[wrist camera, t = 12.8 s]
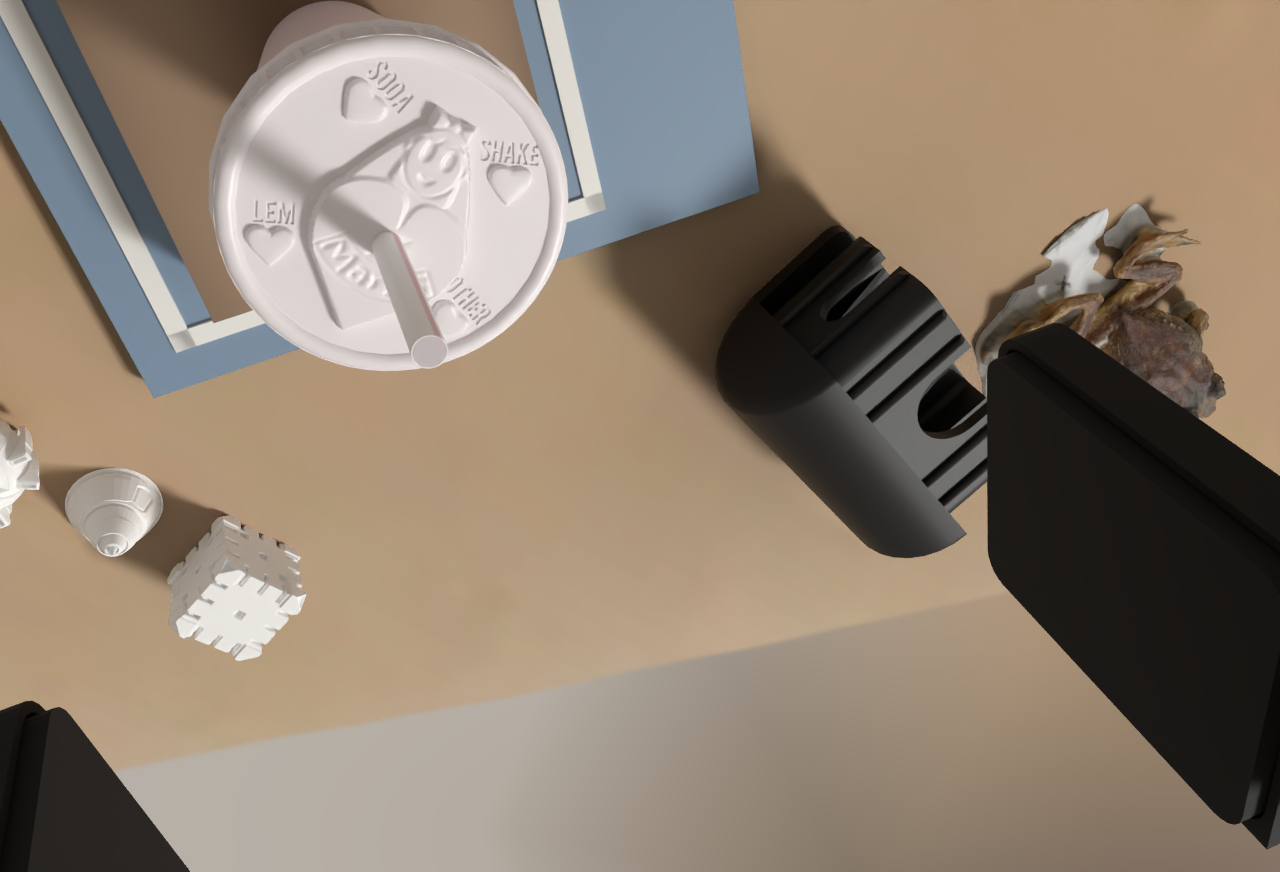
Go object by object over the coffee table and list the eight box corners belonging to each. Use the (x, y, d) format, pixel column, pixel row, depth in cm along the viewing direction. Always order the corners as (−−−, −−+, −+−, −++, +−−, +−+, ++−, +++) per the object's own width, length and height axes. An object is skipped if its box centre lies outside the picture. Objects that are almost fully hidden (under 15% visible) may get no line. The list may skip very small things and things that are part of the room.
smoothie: (154, 130, 27) (138, 421, 16) (271, -121, 25) (346, 7, 14) (394, 242, 30) (520, 547, 19) (512, 29, 28) (728, 228, 17)
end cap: (679, 346, 40) (758, 444, 34) (829, 208, 39) (934, 287, 34) (818, 489, 46) (904, 592, 40) (951, 373, 45) (1056, 462, 39)
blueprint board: (665, -405, 28) (678, -408, 27) (749, 184, 37) (761, 193, 36) (-169, -206, 25) (-179, -203, 24) (154, 385, 34) (153, 399, 33)
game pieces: (300, 541, 39) (310, 599, 37) (242, 606, 40) (248, 668, 37) (-47, 366, 32) (-65, 423, 29) (-112, 448, 33) (-134, 511, 30)
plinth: (439, -198, 28) (464, -191, 25) (537, 172, 34) (564, 206, 31) (34, -92, 26) (20, -73, 24) (211, 278, 32) (213, 323, 30)
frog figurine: (1264, 274, 48) (1337, 311, 45) (1071, 479, 51) (1127, 527, 48) (1142, 125, 42) (1217, 156, 39) (929, 369, 45) (983, 416, 42)
